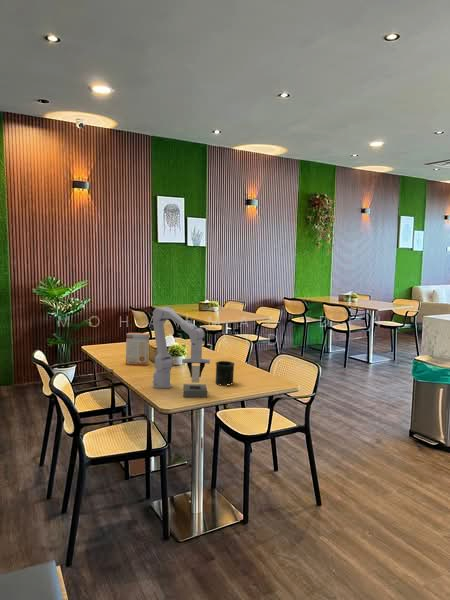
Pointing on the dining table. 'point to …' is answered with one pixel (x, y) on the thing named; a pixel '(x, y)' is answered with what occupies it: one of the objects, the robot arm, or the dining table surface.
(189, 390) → the socket block
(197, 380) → the steel peg
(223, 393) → the dining table surface
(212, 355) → the dining table surface
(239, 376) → the dining table surface
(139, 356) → the cracker box
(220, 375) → the mug
